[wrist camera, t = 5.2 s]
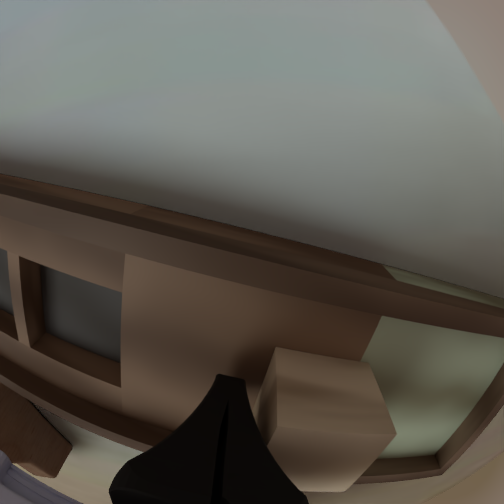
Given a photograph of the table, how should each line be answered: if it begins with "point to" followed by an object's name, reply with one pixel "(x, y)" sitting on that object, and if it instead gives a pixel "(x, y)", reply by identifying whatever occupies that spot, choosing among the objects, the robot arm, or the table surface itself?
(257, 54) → the table surface
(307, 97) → the table surface
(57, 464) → the wooden block
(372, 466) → the track
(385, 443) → the maple block
